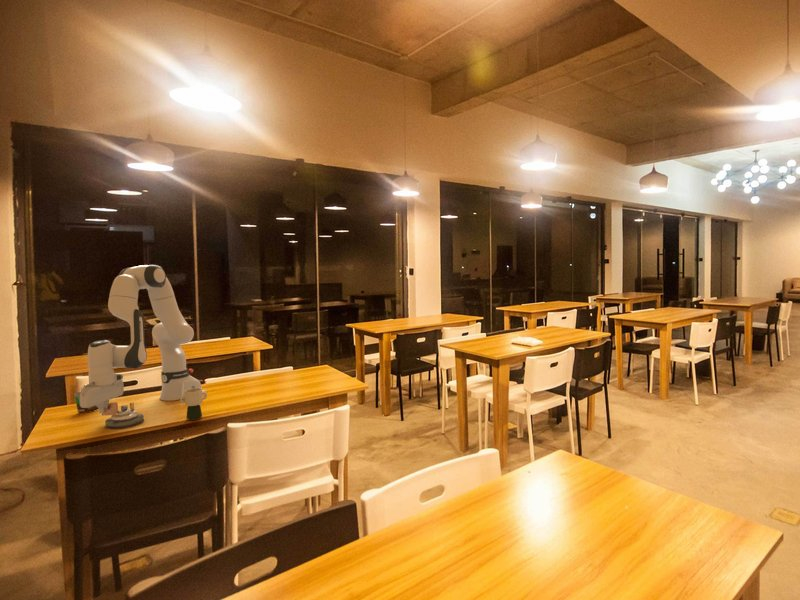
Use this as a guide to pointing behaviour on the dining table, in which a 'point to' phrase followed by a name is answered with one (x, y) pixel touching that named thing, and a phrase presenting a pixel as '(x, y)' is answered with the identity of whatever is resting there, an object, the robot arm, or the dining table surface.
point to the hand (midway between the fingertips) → (103, 411)
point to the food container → (79, 409)
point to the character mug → (193, 402)
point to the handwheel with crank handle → (125, 424)
